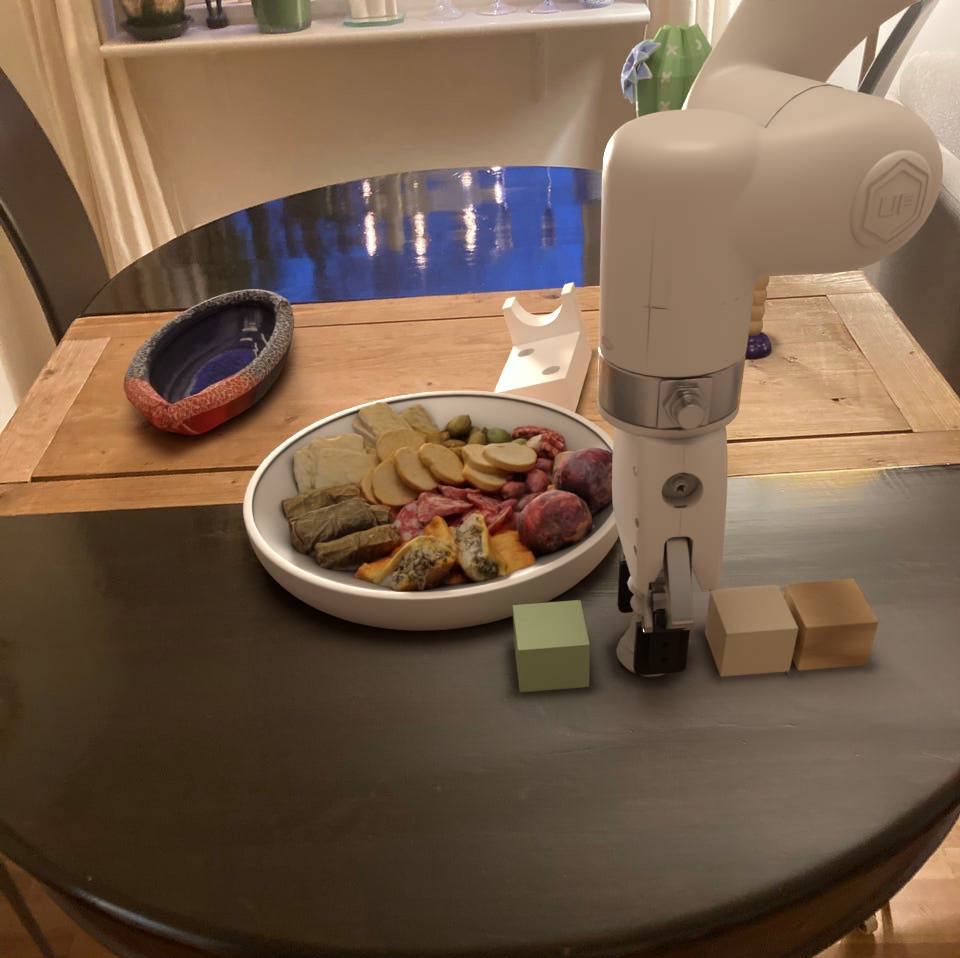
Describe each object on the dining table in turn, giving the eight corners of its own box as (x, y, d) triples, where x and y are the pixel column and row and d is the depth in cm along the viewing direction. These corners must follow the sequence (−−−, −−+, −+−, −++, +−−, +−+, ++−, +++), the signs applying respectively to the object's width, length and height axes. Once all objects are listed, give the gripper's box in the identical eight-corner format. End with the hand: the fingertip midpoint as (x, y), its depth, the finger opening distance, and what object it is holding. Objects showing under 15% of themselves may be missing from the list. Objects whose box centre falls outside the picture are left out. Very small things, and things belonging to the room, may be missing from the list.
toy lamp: (725, 340, 101) (744, 171, 90) (770, 338, 101) (794, 169, 90) (732, 360, 98) (753, 186, 87) (779, 358, 97) (805, 183, 86)
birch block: (841, 630, 65) (854, 578, 63) (864, 674, 62) (879, 621, 59) (775, 635, 65) (785, 583, 63) (795, 680, 62) (806, 627, 59)
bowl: (201, 644, 68) (172, 555, 63) (313, 437, 91) (297, 358, 86) (623, 664, 64) (628, 570, 59) (631, 441, 86) (635, 359, 81)
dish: (327, 323, 111) (320, 280, 108) (243, 458, 88) (230, 409, 85) (201, 323, 113) (190, 281, 110) (87, 455, 91) (69, 407, 87)
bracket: (527, 367, 101) (506, 298, 97) (592, 352, 99) (573, 282, 94) (504, 426, 92) (480, 353, 88) (575, 412, 89) (553, 336, 85)
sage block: (580, 650, 66) (580, 599, 63) (589, 696, 62) (590, 644, 59) (514, 655, 66) (512, 605, 63) (520, 701, 62) (517, 650, 59)
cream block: (768, 635, 65) (778, 584, 63) (787, 680, 62) (798, 628, 59) (703, 641, 66) (709, 589, 63) (719, 686, 62) (726, 633, 59)
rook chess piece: (646, 700, 61) (654, 603, 56) (600, 664, 64) (603, 569, 59) (696, 670, 63) (707, 573, 58) (649, 636, 66) (655, 542, 61)
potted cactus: (631, 232, 128) (640, 12, 112) (745, 243, 123) (773, 13, 106) (590, 272, 118) (593, 37, 102) (712, 286, 113) (737, 39, 96)
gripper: (787, 456, 44) (740, 729, 56) (703, 310, 57) (679, 557, 69) (624, 469, 44) (612, 739, 56) (577, 320, 57) (575, 565, 69)
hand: (650, 636), depth 62 cm, fingers open, 5 cm apart
